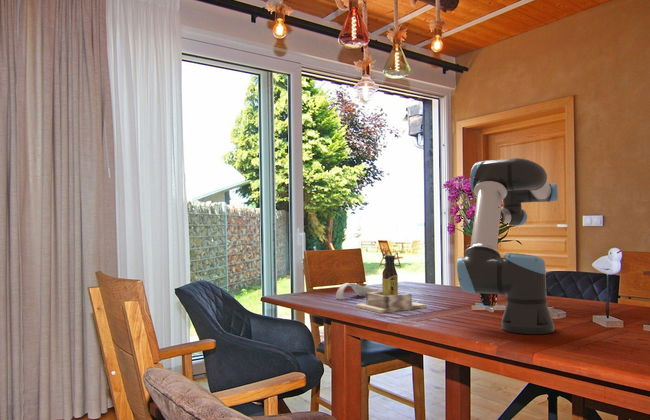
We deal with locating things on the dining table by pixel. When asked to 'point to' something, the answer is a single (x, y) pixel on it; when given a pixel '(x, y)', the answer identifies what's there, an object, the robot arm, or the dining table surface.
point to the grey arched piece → (357, 288)
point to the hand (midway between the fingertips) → (461, 217)
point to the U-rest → (389, 303)
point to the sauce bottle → (389, 277)
